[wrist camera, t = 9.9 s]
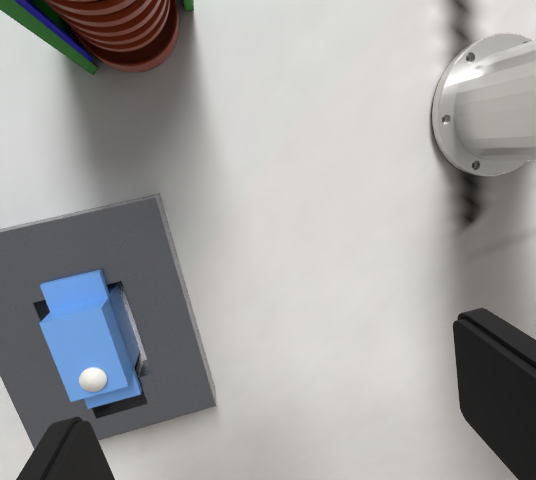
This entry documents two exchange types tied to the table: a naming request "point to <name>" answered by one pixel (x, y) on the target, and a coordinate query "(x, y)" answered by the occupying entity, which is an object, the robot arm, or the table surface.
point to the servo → (91, 339)
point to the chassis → (141, 303)
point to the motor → (104, 29)
